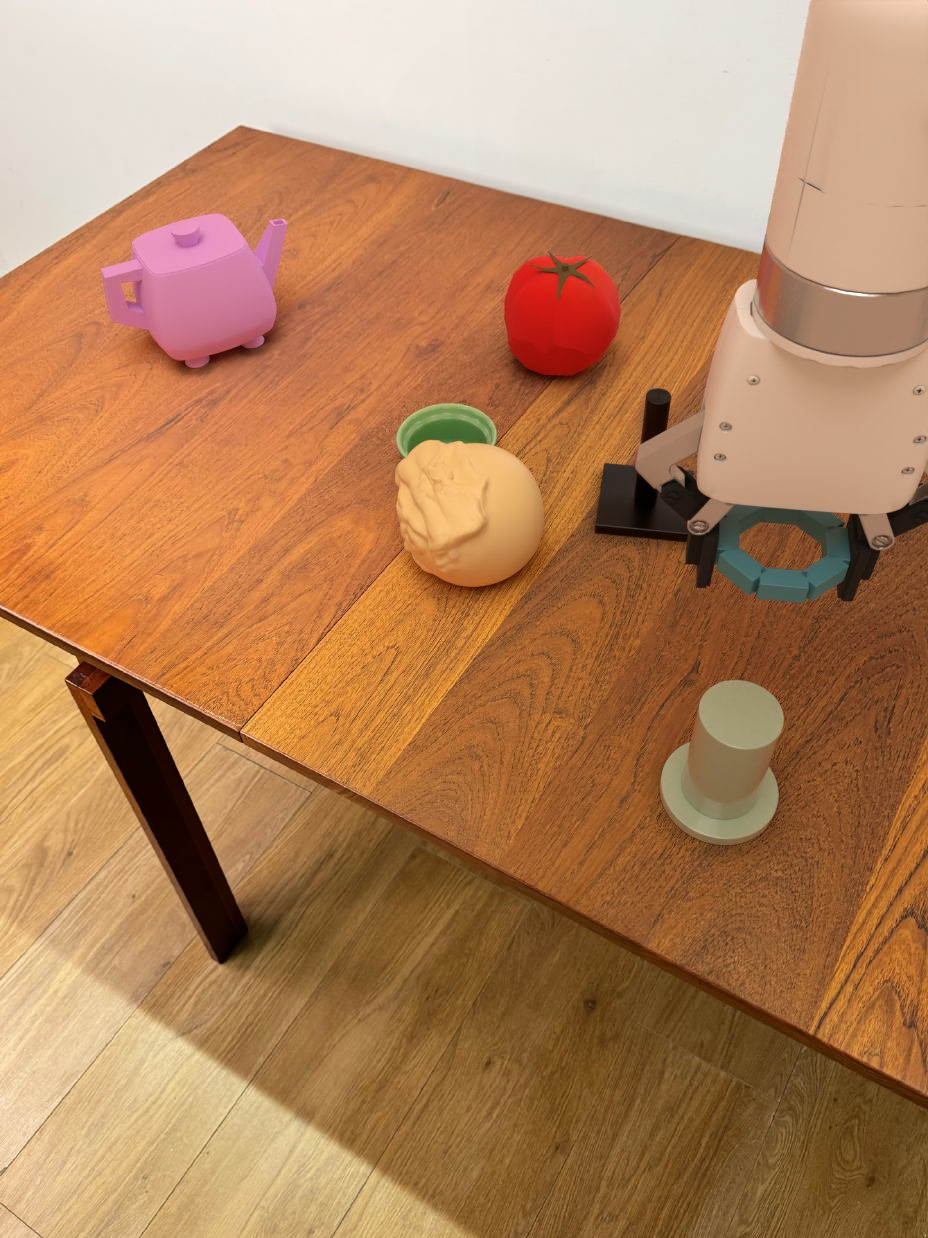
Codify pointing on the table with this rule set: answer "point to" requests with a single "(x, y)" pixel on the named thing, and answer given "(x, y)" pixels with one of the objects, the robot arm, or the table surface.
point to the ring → (783, 581)
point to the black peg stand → (639, 488)
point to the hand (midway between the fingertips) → (772, 573)
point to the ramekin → (445, 427)
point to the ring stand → (726, 766)
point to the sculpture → (468, 511)
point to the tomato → (561, 314)
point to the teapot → (198, 286)
